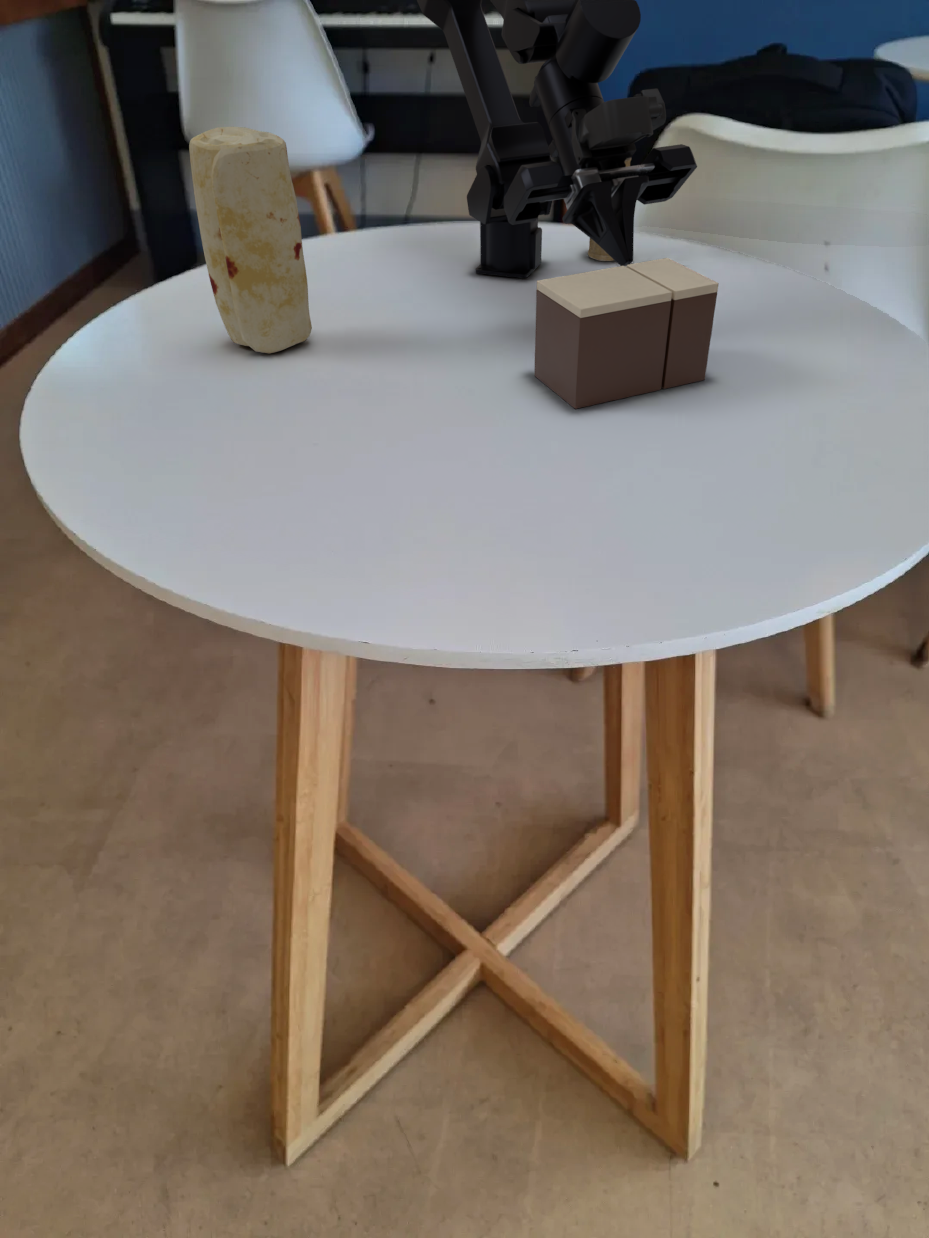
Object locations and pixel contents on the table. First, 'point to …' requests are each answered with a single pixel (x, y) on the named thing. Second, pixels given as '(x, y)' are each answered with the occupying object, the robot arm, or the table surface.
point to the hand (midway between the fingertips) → (627, 264)
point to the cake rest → (601, 335)
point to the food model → (251, 236)
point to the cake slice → (684, 319)
